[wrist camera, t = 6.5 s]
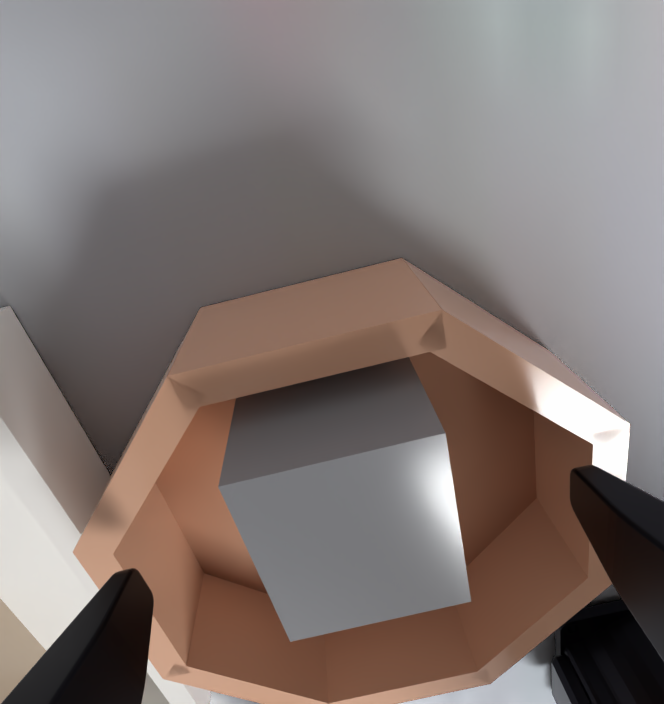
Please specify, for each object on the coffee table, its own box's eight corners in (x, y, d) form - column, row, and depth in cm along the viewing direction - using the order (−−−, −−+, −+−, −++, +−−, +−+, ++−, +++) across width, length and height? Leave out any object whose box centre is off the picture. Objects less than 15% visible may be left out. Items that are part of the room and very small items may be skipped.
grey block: (394, 328, 12) (445, 433, 8) (421, 464, 14) (471, 601, 10) (242, 365, 12) (218, 487, 8) (291, 495, 14) (290, 641, 10)
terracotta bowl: (548, 221, 11) (644, 260, 8) (553, 560, 17) (610, 658, 14) (61, 341, 12) (-21, 421, 9) (223, 633, 18) (208, 743, 15)
